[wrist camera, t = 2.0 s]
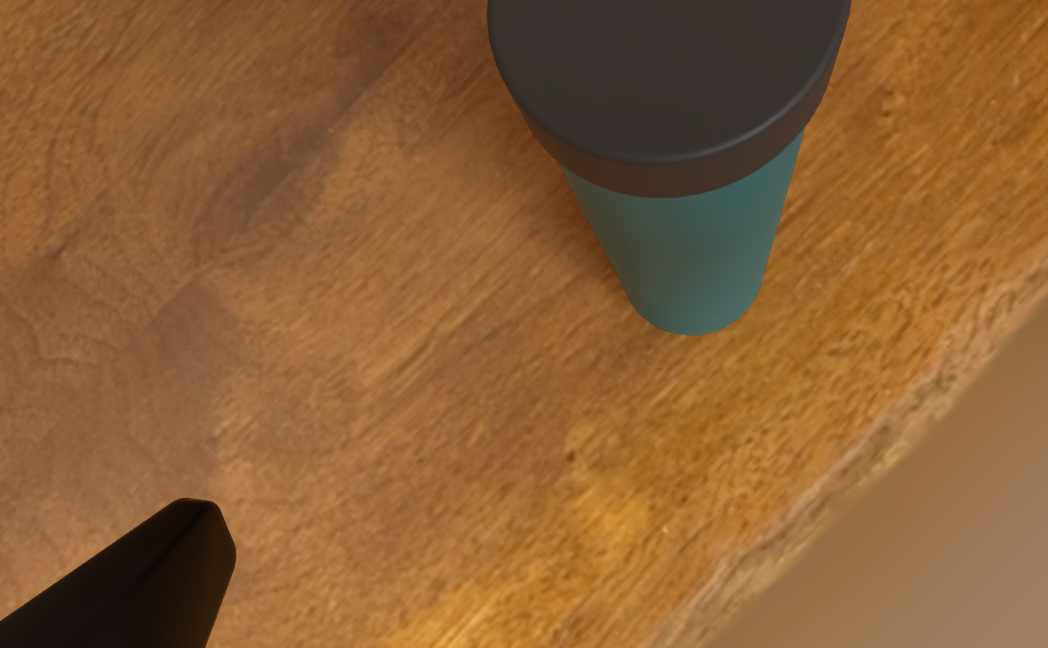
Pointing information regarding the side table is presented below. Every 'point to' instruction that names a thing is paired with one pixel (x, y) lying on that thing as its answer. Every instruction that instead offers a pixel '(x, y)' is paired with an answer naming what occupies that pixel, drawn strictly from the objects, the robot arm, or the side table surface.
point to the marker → (673, 131)
